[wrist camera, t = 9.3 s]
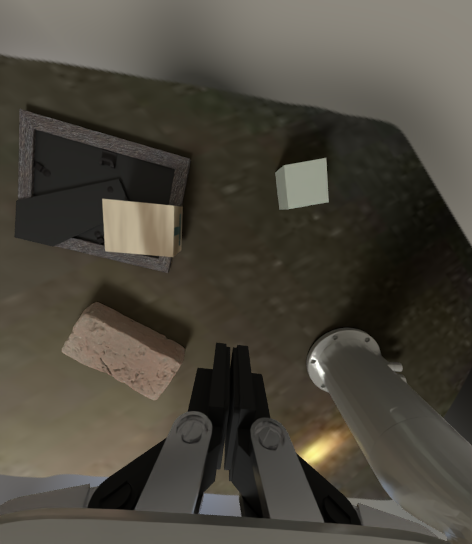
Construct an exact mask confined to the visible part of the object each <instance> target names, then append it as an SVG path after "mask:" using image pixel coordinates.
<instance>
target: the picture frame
mask: <svg viewBox="0 0 472 544" xmlns="http://www.w3.org/2000/svg"><path fill="white" fill-rule="evenodd" d="M190 163H191V160H190V159H189V158H186V157H182V156H179V155H175V154H172V153H168V152H165V151H162V150H158V149H155V148H151V147H148V146H145V145H141V144H138V143H134V142H131V141H127V140H124V139H121V138H117V137H114V136H110V135H107V134H104V133H100V132H97V131H93V130H90V129H86V128H83V127H80V126H76V125H73V124H69V123H66V122H63V121H59V120H56V119H52V118H49V117H45V116H42V115H39V114H35V113H32V112H28V111H25V110H22V109H20V127H19V182H18V200H17V201H16V221H15V237H16V238H20V239H24V240H28V241H33V242H37V243H41V244H45V245H49V246H58V247H62V248H66V249H70V250H74V251H79V252H83V253H87V254H91V255H95V256H99V257H104V258H108V259H112V260H116V261H120V262H125V263H129V264H133V265H137V266H141V267H145V268H150V269H154V270H158V271H162V272H166V273H168V272H169V270H170V265H171V260H172V257H166V256H154V255H142V254H131V253H119V252H107V251H105V239H104V222H103V204H102V199H110V200H121V201H131V202H141V203H151V204H161V205H172V206H180V207H182V204H183V199H184V193H185V188H186V183H187V178H188V173H189V168H190Z"/></svg>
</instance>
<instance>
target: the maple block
mask: <svg viewBox="0 0 472 544" xmlns="http://www.w3.org/2000/svg"><path fill="white" fill-rule="evenodd" d="M102 204H103V222H104V239H105V251H107V252H119V253H131V254H142V255H154V256H166V257H174V256H175V255H176V254H177V253H179V252H180V251H181V246H182V214H183V207H180V206H172V205H161V204H151V203H141V202H131V201H121V200H110V199H102Z"/></svg>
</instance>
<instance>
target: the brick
mask: <svg viewBox="0 0 472 544" xmlns="http://www.w3.org/2000/svg"><path fill="white" fill-rule="evenodd" d="M62 352H63V353H64V354H66V355H67V356H69V357H71V358H73V359H74V360H77V361H78V362H80V363H83V364H84V365H87V366H89V367H91V368H94V369H97V370H99V371H102V372H107V374H109V375H111V376H113V377H114V378H115V379H116V380H118V381H119V382H120V381H121V382H122V383H126V384H127V385H128V386H130V387H132V389H134V390H136V391H137V392H139V393H141V394H143V395H144V396H146V397H148V398H150V399H152V400H156V399H158V398H159V396H160V394H161V393H163V391H164V390H165V389H166V387H167V386H168V384H169V383H170V381H171V380H172V378H173V377H174V375H175V374H176V372H177V371H178V369H179V368H180V366H181V364H182V362H183V360H184V354H185V349H184V348H183V347H182V346H181V345H180V344H178V343H176V342H175V341H173V340H170V339H167V338H166V336H164V335H162V334H159V333H158V332H156V331H154V330H152V329H150V328H149V327H146V326H144V325H142V324H140V323H138V322H136V321H134V320H132V319H130V318H129V317H126V316H124V315H122V314H121V313H119V312H117V311H116V310H114V309H111V308H110V307H107V306H105V305H103V304H101V303H99V302H95V303H93V304H91V305H90V306H89V307H87V308H86V309H85V310H84V311H83V313H82V315H81V316H80V318H79V320H78V321H77V322H76V324H75V325H74V327H73V331H72V333H71V335H70V336H69V338H68V339H67V341H66V342H65V344H64V346H63V348H62Z"/></svg>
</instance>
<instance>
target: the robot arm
mask: <svg viewBox="0 0 472 544" xmlns="http://www.w3.org/2000/svg"><path fill="white" fill-rule="evenodd" d="M402 368H403V367H402V365H401V363H399V362H388V361H386V360H385V359H384V358H383V357H382V356H381V352H380V348H379V346H378V344H377V342H376V341H375V340H374V339H373V338H372V337H371V336H370V335H368V334H367V333H366V332H364V331H362V330H359V329H355V328H339V329H336V330H332V331H330V332H328V333H326V334H325V335H323V336H322V337H320V338H319V339H318V340H317V341H316V342H315V343H314V344H313V346H312V347H311V349H310V351H309V353H308V357H307V371H308V373H309V376H310V378H311V379H312V381H313V382H314V383H315V385H316V386H318V387H319V388H320V389H322V390H324V391H327V392H329V393H330V395H331V397H332V399H333V400H334V402H335V404H336V406H337V407H338V409H339V411H340V413H341V415H342V416H343V418H344V420H345V422H346V423H347V425H348V427H349V429H350V431H351V432H352V434H353V436H354V438H355V439H356V441H357V443H358V445H359V447H360V448H361V450H362V452H363V454H364V455H365V457H366V459H367V461H368V463H369V464H370V466H371V468H372V470H373V471H374V473H375V475H376V477H377V478H378V480H379V482H380V483H381V485H382V486H383V488H384V489H385V491H386V492H387V493H388V495H389V496H390V497H391V498H392V499H393V500H394V501H395V502H396V503H397V504H398V505H399V506H400V507H401V508H403V509H404V510H405V511H406V512H408V513H409V514H411V515H412V516H414V517H415V518H417V519H418V520H420V521H422V522H424V523H426V524H427V525H429V526H431V527H433V528H435V529H436V530H438V531H440V532H442V533H444V534H445V535H446V537H447V541H445V540H442V539H439V538H438V537H437V536H436V535H435V534H433V533H432V532H431V531H430V530H429V529H427V528H426V527H424V526H422V525H420V524H418V523H415V522H412V521H410V520H406V519H404V518H401V517H398V516H395V515H392V514H389V513H386V512H383V511H380V510H378V509H374V508H372V507H369V506H366V505H363V504H360V503H358V504H357V506H354V505H352V504H351V503H350V501H349V500H348V499H347V498H346V497H345V496H344V495H343V494H342V493H341V492H339V491H338V490H337V489H336V488H335V487H334V486H333V485H332V484H330V483H329V482H328V481H327V480H326V479H325V478H324V477H323V476H321V475H320V474H319V473H318V472H317V471H316V470H315V469H313V468H312V467H311V466H310V465H309V464H308V463H307V462H306V461H304V460H303V459H302V458H301V457H300V456H299V455H298V454H297V453H296V452H295V449H294V447H293V444H292V442H291V440H290V437H289V435H288V433H287V431H286V429H285V428H284V427H283V426H282V424H281V423H279V422H278V421H276V420H274V419H271V418H270V414H269V409H268V403H267V398H266V393H265V388H264V382H263V377H262V375H261V374H255V373H251V366H250V358H249V350H248V346H242V345H237V348H234V347H233V352H232V359H231V366H230V347H226V344H223V343H216V348H215V357H214V365H213V369H204V368H198V369H197V373H196V377H195V382H194V386H193V391H192V395H191V400H190V404H189V409H188V412H186V413H184V414H182V415H180V416H179V417H178V418H177V419H176V420H175V422H174V424H173V426H172V428H171V430H170V432H169V434H168V437H167V438H166V439H164V440H163V441H161V442H160V443H158V444H157V445H155V446H154V447H152V448H151V449H149V450H148V451H147V452H145V453H144V454H142V455H141V456H139V457H138V458H136V459H135V460H133V461H132V462H131V463H129V464H128V465H126V466H125V467H123V468H122V469H120V470H119V471H117V472H116V473H114V474H113V475H112V476H110V477H109V478H107V479H106V480H105V481H104V482H103V483H101V484H100V485H99V486H97V487H91V488H90V484H86V485H81V486H76V487H70V488H64V489H59V490H54V491H49V492H43V493H38V494H32V495H26V496H21V497H17V498H14V499H12V500H9V501H7V502H5V503H4V504H2V505H0V544H472V445H471V444H469V443H468V442H467V441H466V440H465V439H464V438H463V437H462V436H461V435H460V434H459V433H458V432H457V431H456V430H455V429H454V428H453V427H451V425H449V424H448V423H447V422H446V421H445V420H444V419H443V418H442V417H441V416H440V415H439V414H438V413H437V412H436V411H435V410H434V409H433V408H432V407H431V406H430V405H429V404H428V403H426V402H425V401H424V400H423V399H422V398H421V397H420V396H419V395H418V394H417V393H416V392H415V391H414V390H413V389H412V388H411V387H410V386H409V385H408V384H407V383H406V379H405V377H404V376H403V375H402V374H396V373H395V372H394V371H402ZM224 441H225V461H224V470H229V481H232V483H233V484H234V486H235V487H236V488H237V489H238V491H239V503H240V510H241V517H234V516H217V515H204V514H200V510H201V506H202V502H203V497H204V492H205V491H206V490H207V489H208V487H209V486H210V485H211V484H212V483H213V482H214V481H215V476H216V469H220V468H221V461H222V455H223V448H224Z"/></svg>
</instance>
